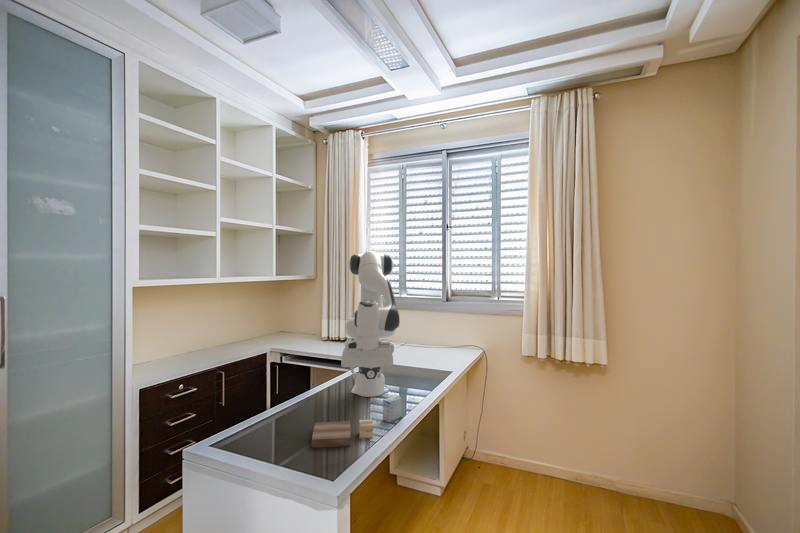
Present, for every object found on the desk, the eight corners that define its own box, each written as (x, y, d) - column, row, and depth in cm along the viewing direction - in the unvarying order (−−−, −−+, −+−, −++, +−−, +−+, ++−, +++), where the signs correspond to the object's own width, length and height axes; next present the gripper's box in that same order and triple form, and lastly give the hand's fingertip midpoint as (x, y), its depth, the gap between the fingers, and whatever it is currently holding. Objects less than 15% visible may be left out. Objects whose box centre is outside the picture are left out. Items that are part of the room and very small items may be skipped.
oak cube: (359, 432, 148) (359, 420, 148) (371, 431, 149) (372, 419, 149) (359, 438, 143) (359, 425, 143) (372, 437, 144) (372, 425, 144)
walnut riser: (315, 430, 149) (315, 422, 149) (350, 428, 151) (350, 421, 151) (311, 447, 135) (311, 439, 135) (350, 445, 137) (350, 437, 137)
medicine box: (394, 414, 166) (394, 394, 166) (402, 417, 163) (402, 397, 163) (382, 419, 160) (382, 399, 160) (390, 422, 157) (390, 402, 157)
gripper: (393, 340, 150) (392, 374, 150) (341, 341, 147) (341, 375, 147) (395, 343, 144) (394, 379, 144) (341, 344, 141) (340, 380, 141)
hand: (367, 377), depth 145 cm, fingers open, 8 cm apart
